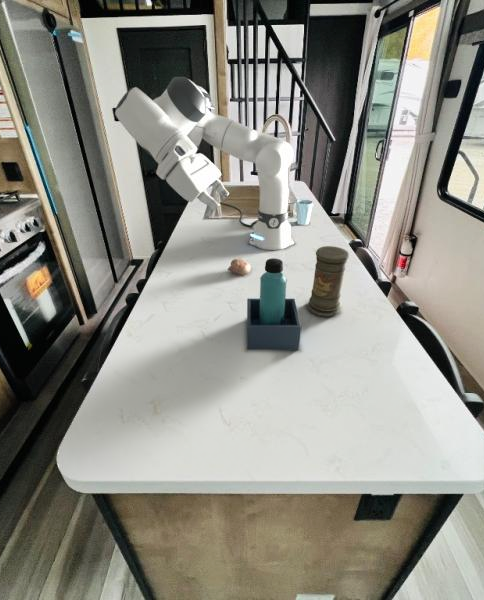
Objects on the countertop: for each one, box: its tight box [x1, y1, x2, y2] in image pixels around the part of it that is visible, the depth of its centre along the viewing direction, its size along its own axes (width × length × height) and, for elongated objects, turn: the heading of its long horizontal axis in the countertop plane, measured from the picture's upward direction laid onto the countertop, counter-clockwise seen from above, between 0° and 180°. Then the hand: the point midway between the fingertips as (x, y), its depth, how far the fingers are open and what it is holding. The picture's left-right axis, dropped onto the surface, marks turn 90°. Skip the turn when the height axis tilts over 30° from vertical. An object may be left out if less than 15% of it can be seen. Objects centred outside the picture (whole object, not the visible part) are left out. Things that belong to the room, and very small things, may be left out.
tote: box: [246, 298, 302, 351], centre depth 82 cm, size 13×13×7 cm
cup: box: [296, 199, 314, 226], centre depth 154 cm, size 8×8×10 cm
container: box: [307, 245, 350, 318], centre depth 89 cm, size 9×9×18 cm
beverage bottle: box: [259, 257, 288, 325], centre depth 78 cm, size 6×7×20 cm
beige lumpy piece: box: [227, 258, 252, 276], centre depth 112 cm, size 8×6×8 cm
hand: (222, 202), depth 76 cm, fingers open, 8 cm apart
